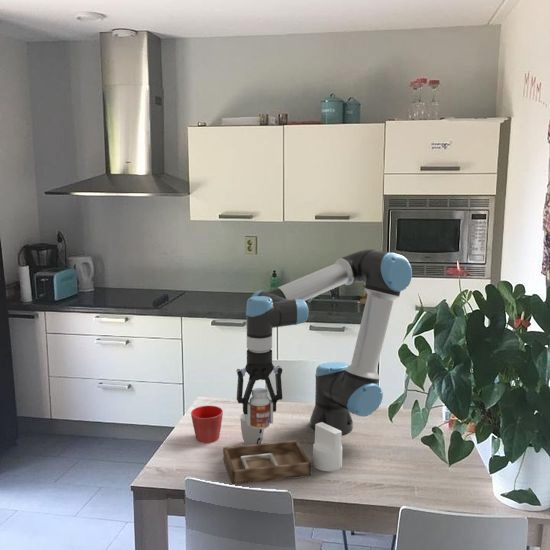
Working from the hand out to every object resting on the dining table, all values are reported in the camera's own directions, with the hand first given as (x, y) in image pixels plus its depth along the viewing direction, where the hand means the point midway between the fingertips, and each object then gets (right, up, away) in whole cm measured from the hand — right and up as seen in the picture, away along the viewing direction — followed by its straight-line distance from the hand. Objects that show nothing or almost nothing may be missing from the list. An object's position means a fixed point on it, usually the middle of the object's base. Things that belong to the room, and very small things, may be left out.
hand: (259, 422), depth 186 cm
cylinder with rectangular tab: (+21, -14, +5) cm, 26 cm away
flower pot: (-18, -11, +22) cm, 31 cm away
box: (+2, -14, +3) cm, 15 cm away
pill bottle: (0, -1, 0) cm, 1 cm away
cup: (-3, -12, +18) cm, 22 cm away
